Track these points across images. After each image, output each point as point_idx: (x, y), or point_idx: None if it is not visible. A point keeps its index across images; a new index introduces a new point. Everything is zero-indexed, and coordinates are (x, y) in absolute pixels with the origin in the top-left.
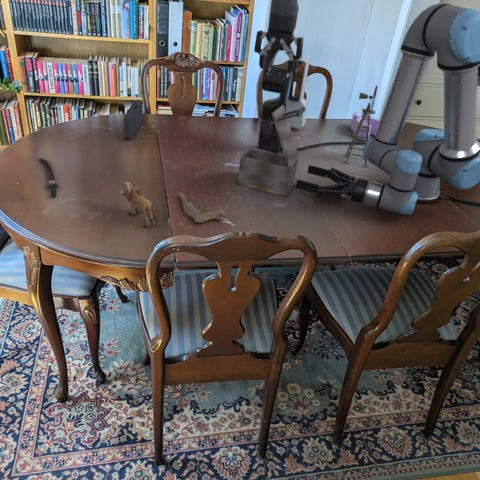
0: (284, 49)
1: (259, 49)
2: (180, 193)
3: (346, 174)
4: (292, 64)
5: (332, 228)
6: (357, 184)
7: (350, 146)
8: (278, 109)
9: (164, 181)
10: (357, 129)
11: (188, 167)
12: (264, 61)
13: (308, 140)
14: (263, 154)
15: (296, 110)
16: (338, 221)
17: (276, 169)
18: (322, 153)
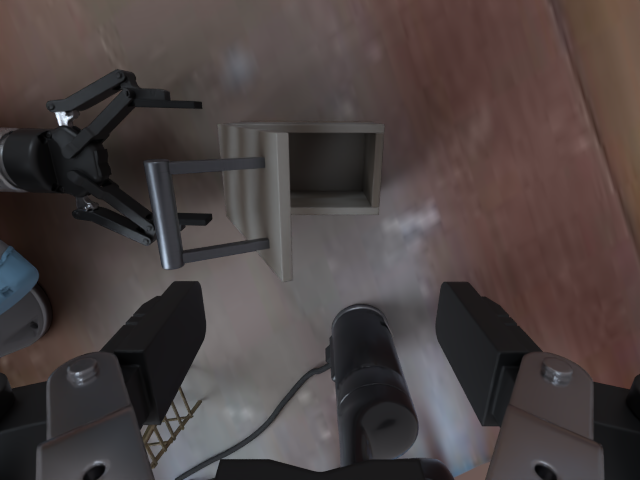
0: (139, 467)
1: (633, 432)
2: None
3: (101, 223)
4: (114, 341)
5: (77, 11)
6: (26, 144)
7: (185, 418)
8: (278, 207)
9: (557, 20)
10: (150, 450)
11: (519, 143)
12: (460, 352)
13: (300, 432)
14: (334, 205)
15: (205, 250)
16: (81, 59)
17: (264, 123)
18: (250, 387)
